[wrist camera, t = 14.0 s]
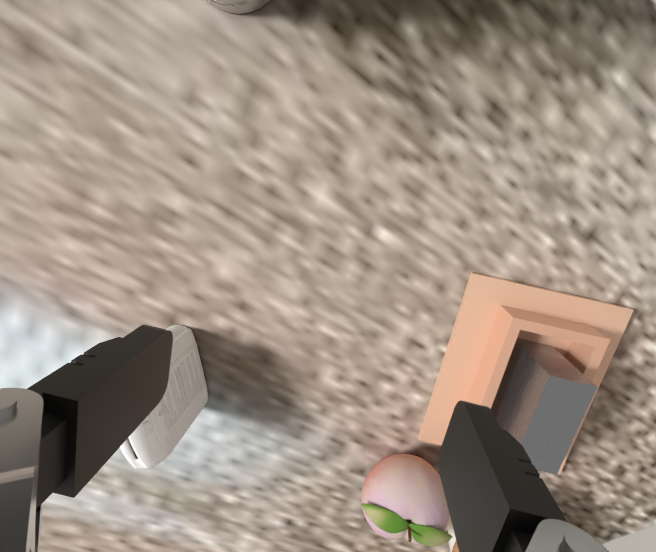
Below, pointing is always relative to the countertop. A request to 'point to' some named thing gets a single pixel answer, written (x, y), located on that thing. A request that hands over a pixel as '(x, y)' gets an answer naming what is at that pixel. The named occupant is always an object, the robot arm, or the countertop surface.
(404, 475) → the decorative fruit
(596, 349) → the caddy
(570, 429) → the grey rectangular block
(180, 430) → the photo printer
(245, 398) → the countertop surface
